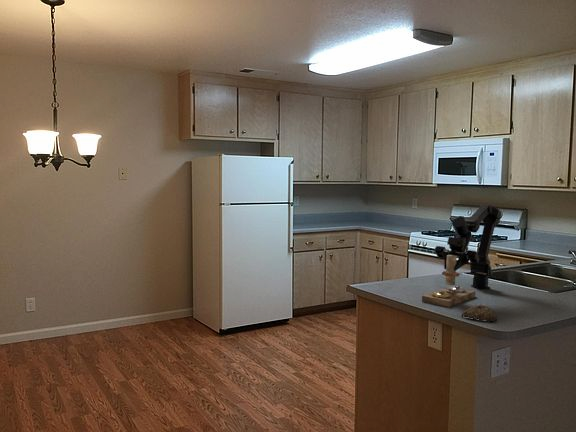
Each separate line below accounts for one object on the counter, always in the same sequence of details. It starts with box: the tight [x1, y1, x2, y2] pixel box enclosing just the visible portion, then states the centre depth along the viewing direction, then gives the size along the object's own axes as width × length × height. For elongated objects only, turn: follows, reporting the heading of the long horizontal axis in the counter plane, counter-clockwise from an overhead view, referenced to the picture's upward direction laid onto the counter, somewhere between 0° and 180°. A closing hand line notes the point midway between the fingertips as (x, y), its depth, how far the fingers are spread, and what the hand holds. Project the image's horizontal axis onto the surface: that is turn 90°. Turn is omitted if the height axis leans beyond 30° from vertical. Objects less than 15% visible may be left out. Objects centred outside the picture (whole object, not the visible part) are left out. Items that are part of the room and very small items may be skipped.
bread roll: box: [461, 304, 497, 322], centre depth 192 cm, size 13×12×5 cm
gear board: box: [421, 285, 476, 308], centre depth 218 cm, size 26×12×2 cm, turn 136°
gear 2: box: [447, 285, 468, 293], centre depth 224 cm, size 8×8×2 cm
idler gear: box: [441, 255, 460, 286], centre depth 217 cm, size 7×7×12 cm
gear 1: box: [431, 290, 451, 299], centre depth 213 cm, size 8×8×2 cm
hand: (449, 269), depth 216 cm, fingers closed on idler gear, 4 cm apart
